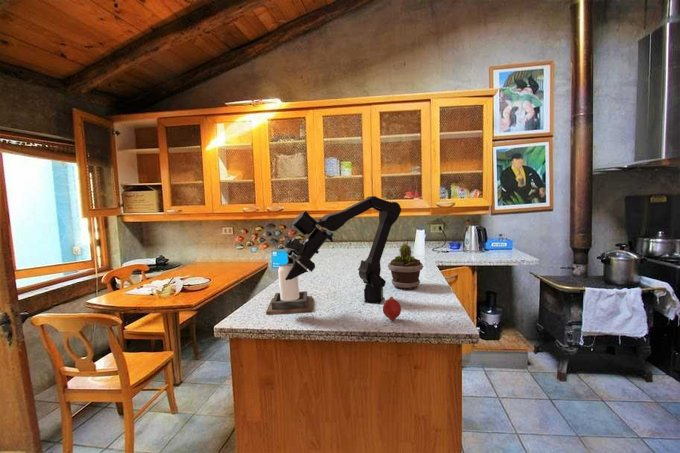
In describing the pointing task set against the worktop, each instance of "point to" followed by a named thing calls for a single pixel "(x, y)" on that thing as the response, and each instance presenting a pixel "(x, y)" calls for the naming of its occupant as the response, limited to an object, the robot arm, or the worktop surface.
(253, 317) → the worktop surface
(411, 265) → the flowerpot
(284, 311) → the socket
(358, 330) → the worktop surface
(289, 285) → the can
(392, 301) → the onion
